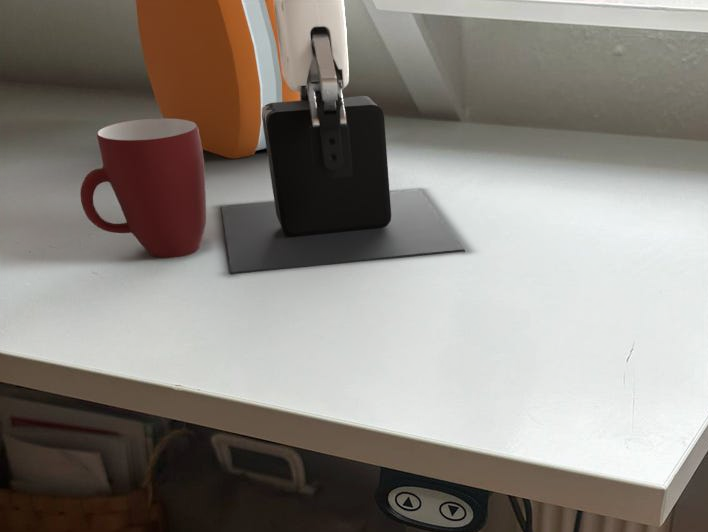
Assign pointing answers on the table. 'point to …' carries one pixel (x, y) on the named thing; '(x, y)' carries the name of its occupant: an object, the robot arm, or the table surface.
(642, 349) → the table surface
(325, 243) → the desk mat
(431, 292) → the table surface
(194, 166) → the mug
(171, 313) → the table surface
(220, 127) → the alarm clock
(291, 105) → the electronic device
